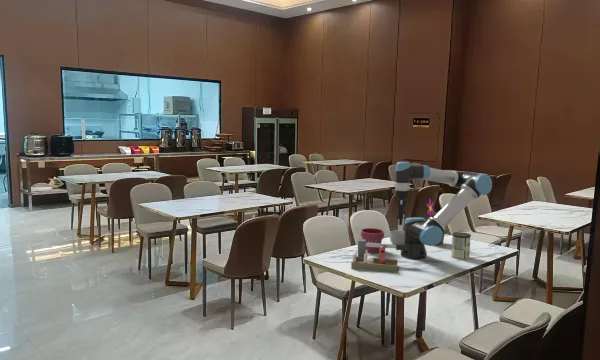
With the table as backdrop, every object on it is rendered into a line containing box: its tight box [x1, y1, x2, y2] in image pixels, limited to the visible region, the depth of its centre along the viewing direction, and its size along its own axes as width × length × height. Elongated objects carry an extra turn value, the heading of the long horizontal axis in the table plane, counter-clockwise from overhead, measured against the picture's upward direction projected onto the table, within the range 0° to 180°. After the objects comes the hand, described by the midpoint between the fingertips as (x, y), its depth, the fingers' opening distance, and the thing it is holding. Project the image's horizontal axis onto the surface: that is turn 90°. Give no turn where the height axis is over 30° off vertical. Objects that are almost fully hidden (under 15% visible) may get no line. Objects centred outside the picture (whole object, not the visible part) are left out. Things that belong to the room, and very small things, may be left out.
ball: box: [366, 256, 374, 264], centre depth 245 cm, size 4×4×4 cm
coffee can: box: [450, 231, 472, 261], centre depth 264 cm, size 10×10×14 cm
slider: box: [357, 242, 407, 264], centre depth 247 cm, size 28×13×10 cm, turn 76°
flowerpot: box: [426, 198, 448, 247], centre depth 295 cm, size 14×14×30 cm
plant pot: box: [360, 227, 385, 254], centre depth 277 cm, size 14×14×13 cm
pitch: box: [350, 238, 398, 273], centre depth 246 cm, size 24×17×12 cm
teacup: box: [389, 229, 404, 245], centre depth 297 cm, size 14×11×8 cm
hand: (400, 228), depth 248 cm, fingers open, 13 cm apart
